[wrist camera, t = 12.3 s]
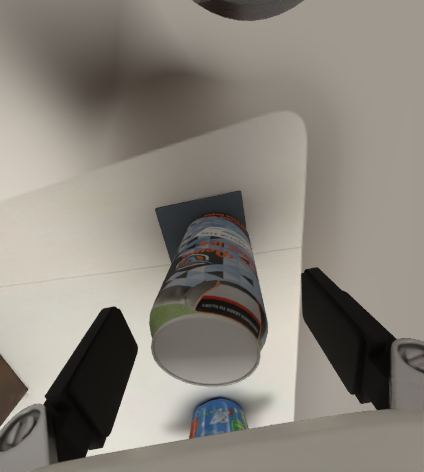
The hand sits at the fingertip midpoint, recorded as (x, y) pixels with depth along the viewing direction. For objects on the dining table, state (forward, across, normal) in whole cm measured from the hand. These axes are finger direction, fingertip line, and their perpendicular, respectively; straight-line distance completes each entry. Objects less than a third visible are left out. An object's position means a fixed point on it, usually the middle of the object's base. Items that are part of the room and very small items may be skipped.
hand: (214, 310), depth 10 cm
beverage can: (+10, 0, +1) cm, 10 cm away
